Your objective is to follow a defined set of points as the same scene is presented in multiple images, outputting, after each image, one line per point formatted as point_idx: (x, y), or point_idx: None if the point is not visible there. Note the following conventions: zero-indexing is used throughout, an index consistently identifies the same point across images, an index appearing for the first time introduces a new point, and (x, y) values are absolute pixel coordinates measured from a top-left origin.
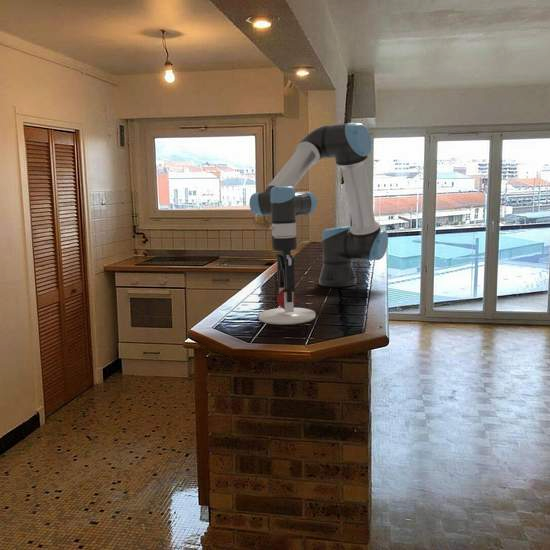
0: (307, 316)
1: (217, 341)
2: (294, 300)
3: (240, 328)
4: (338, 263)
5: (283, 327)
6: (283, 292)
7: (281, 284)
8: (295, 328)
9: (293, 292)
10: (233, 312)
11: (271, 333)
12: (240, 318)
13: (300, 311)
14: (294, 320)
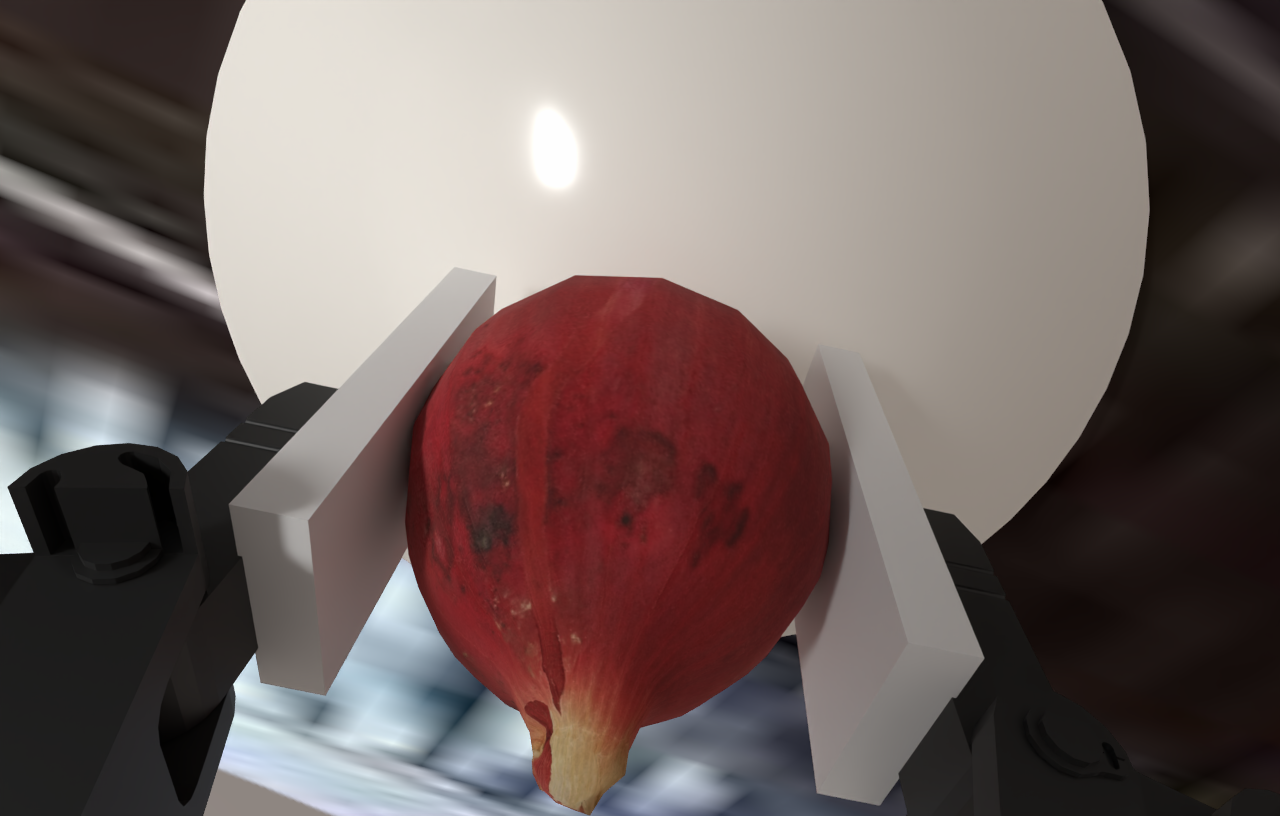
0: (1067, 151)
1: None
2: (802, 387)
3: (802, 792)
4: None
5: (1085, 557)
6: (687, 711)
7: (178, 730)
8: (1257, 483)
9: (643, 434)
10: None
11: (1181, 712)
12: (441, 684)
13: (617, 72)
14: (1080, 424)
